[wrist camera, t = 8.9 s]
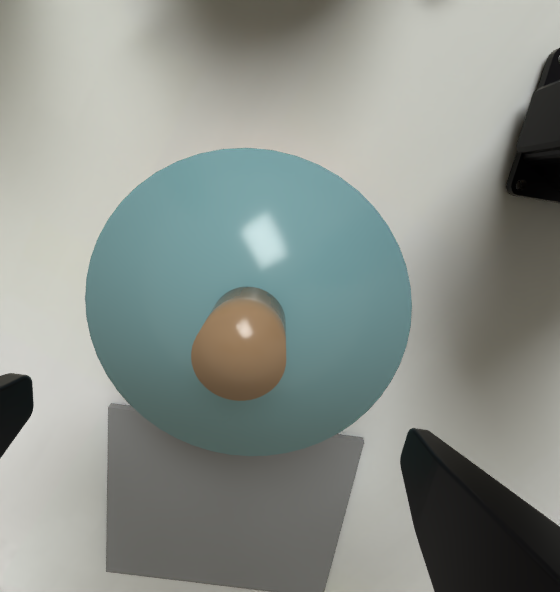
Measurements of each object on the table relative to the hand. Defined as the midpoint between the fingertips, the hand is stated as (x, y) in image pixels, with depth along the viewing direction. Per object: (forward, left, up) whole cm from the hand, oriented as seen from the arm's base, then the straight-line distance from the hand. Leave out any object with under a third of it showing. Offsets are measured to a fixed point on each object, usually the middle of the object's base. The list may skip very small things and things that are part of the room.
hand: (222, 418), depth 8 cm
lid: (0, 0, -7) cm, 7 cm away
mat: (0, +16, -12) cm, 20 cm away
